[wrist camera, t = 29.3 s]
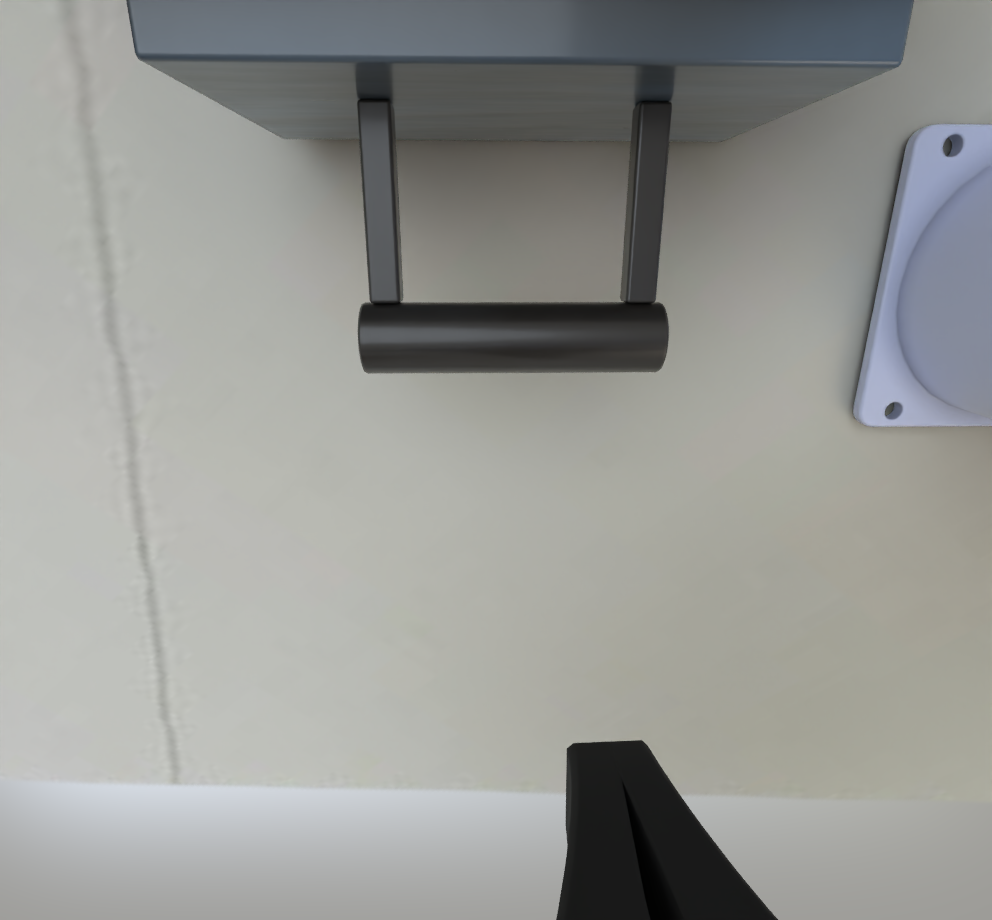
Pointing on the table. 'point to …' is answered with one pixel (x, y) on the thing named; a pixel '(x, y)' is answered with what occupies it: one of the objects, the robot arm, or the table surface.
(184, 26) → the drawer
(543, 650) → the table surface
